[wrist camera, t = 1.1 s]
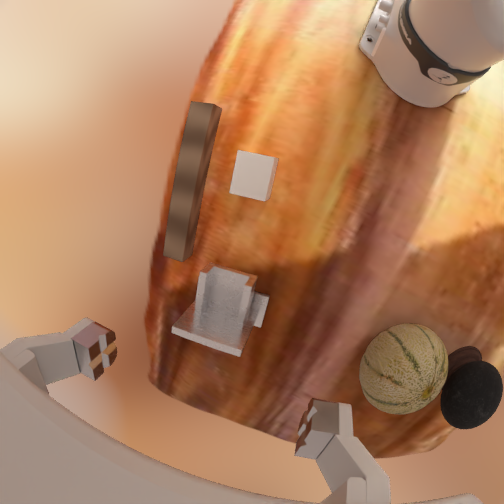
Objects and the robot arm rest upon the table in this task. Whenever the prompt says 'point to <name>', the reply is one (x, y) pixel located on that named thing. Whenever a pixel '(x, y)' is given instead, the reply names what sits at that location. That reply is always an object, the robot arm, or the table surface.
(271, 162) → the pale grey block
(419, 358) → the cantaloupe
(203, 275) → the bracket
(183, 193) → the walnut rail
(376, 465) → the robot arm
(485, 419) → the black rounded lump
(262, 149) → the table surface
